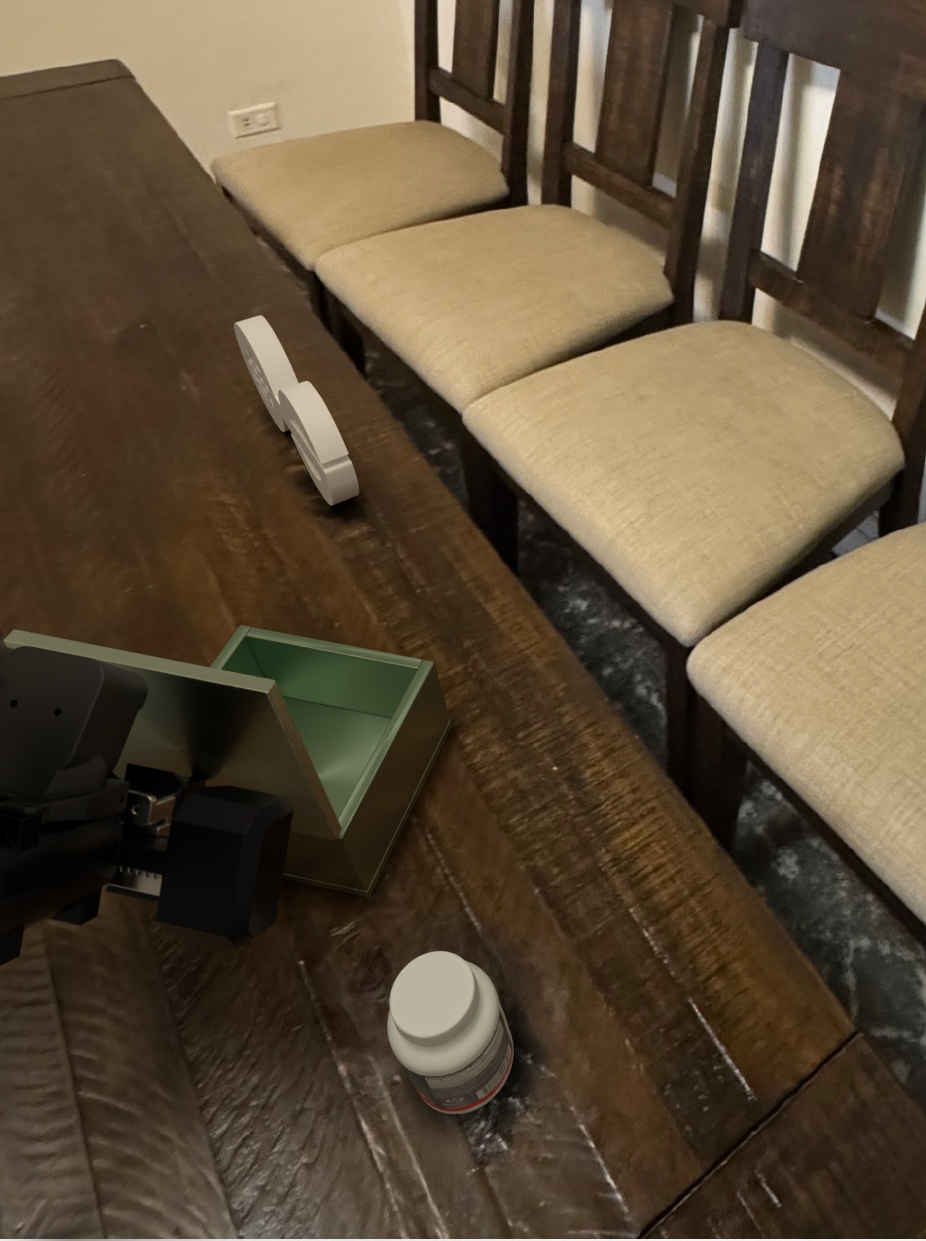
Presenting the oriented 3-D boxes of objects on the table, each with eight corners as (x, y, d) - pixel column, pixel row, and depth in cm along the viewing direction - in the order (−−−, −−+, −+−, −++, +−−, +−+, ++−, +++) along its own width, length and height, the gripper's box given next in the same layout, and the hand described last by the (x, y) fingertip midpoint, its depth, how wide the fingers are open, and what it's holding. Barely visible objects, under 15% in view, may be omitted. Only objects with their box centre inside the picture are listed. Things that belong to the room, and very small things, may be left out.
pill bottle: (403, 1035, 55) (363, 962, 48) (499, 992, 57) (473, 917, 50) (426, 1136, 52) (387, 1074, 45) (527, 1088, 53) (504, 1021, 47)
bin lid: (13, 628, 48) (1, 640, 47) (275, 679, 46) (266, 693, 46) (120, 780, 57) (111, 793, 56) (342, 828, 55) (335, 841, 55)
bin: (272, 690, 71) (240, 624, 66) (452, 725, 69) (434, 661, 64) (165, 852, 62) (119, 791, 57) (370, 898, 60) (341, 839, 55)
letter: (257, 394, 95) (223, 302, 88) (280, 386, 96) (248, 295, 89) (343, 528, 83) (312, 434, 76) (368, 517, 84) (340, 424, 77)
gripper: (193, 722, 36) (388, 667, 52) (-249, 635, 39) (64, 606, 54) (144, 1025, 36) (354, 879, 52) (-297, 920, 39) (31, 810, 54)
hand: (198, 786), depth 53 cm, fingers closed
